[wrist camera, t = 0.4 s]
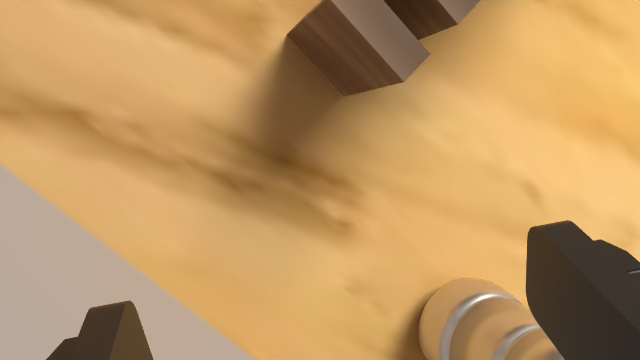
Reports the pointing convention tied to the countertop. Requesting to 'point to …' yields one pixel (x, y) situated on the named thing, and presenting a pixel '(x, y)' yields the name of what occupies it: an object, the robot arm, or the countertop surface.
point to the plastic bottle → (481, 325)
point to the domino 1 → (358, 44)
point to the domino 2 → (430, 14)
